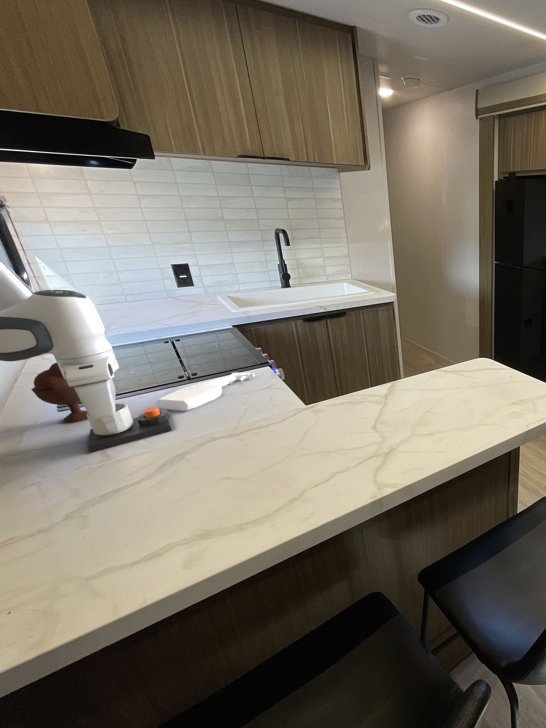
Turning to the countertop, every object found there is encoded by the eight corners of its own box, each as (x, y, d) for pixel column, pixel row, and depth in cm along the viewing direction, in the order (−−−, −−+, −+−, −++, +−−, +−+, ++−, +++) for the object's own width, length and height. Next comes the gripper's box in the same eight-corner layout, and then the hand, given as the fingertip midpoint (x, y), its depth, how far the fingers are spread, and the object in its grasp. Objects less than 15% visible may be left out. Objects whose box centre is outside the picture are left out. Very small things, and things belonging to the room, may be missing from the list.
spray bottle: (155, 409, 106) (231, 377, 128) (189, 412, 104) (260, 379, 126) (151, 399, 105) (228, 368, 127) (186, 402, 103) (258, 370, 125)
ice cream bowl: (100, 405, 109) (79, 352, 104) (112, 415, 103) (90, 360, 98) (44, 420, 101) (18, 364, 96) (53, 432, 95) (26, 373, 90)
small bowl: (94, 439, 88) (85, 419, 86) (95, 428, 93) (87, 409, 91) (135, 429, 92) (127, 409, 90) (134, 419, 97) (127, 400, 95)
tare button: (145, 419, 94) (143, 413, 94) (145, 415, 96) (142, 409, 96) (160, 416, 96) (158, 409, 96) (160, 412, 98) (157, 405, 97)
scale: (90, 452, 86) (85, 440, 85) (92, 434, 94) (87, 422, 93) (173, 429, 95) (169, 418, 94) (169, 414, 103) (165, 404, 102)
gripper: (72, 358, 92) (96, 412, 97) (64, 381, 78) (92, 443, 83) (109, 351, 96) (130, 404, 101) (108, 373, 82) (132, 433, 87)
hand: (113, 422), depth 92 cm, fingers closed on small bowl, 7 cm apart
